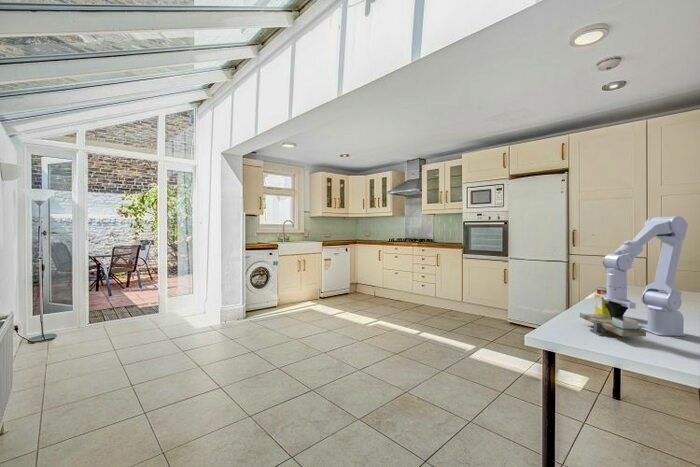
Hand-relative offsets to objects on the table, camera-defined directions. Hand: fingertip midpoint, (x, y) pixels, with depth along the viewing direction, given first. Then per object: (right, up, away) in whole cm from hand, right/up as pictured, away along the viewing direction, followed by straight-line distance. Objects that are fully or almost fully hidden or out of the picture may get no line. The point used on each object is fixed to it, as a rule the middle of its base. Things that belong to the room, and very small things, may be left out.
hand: (616, 323), depth 117 cm
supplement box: (+11, -4, +19) cm, 22 cm away
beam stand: (0, -5, +2) cm, 5 cm away
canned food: (+19, -4, +27) cm, 33 cm away
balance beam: (0, -2, +3) cm, 4 cm away
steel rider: (0, -1, -4) cm, 4 cm away
